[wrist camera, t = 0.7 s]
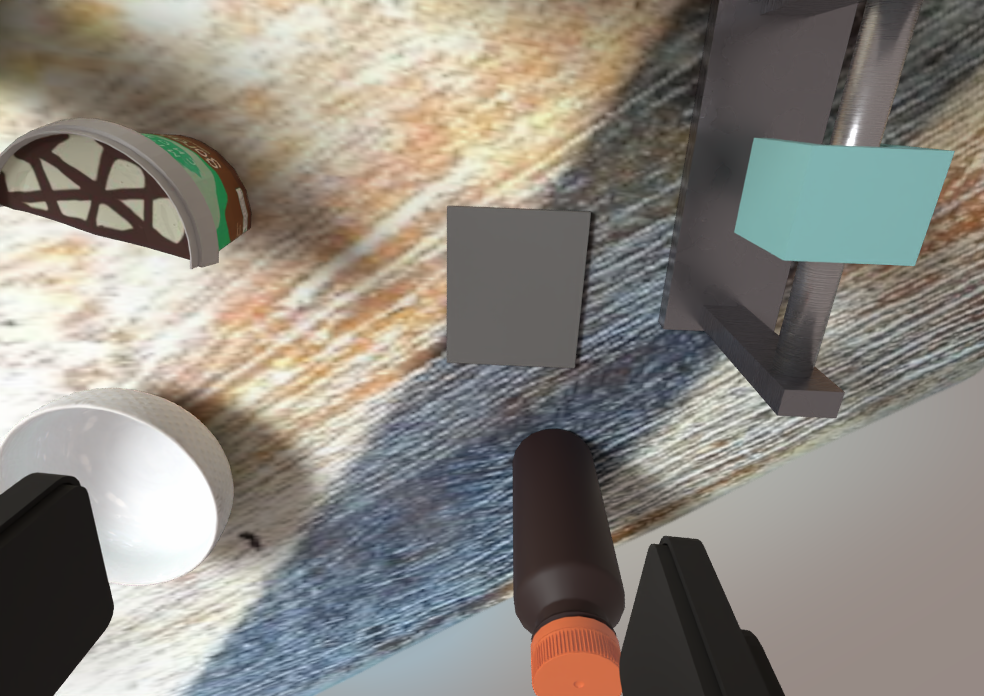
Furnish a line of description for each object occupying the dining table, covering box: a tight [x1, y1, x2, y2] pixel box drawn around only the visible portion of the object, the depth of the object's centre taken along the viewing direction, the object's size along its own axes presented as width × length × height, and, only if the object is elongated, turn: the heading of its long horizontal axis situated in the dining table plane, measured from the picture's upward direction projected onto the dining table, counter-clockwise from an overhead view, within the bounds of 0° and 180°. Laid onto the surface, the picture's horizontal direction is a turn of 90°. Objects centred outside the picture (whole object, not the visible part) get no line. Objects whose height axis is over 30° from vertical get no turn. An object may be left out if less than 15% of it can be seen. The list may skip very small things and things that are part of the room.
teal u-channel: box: [734, 138, 955, 266], centre depth 27 cm, size 5×6×6 cm
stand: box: [658, 0, 923, 418], centre depth 31 cm, size 22×8×14 cm, turn 178°
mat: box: [447, 206, 591, 368], centre depth 41 cm, size 12×10×1 cm
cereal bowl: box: [0, 388, 234, 586], centre depth 45 cm, size 17×17×7 cm
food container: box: [0, 118, 251, 269], centre depth 34 cm, size 12×6×10 cm, turn 73°
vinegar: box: [513, 429, 625, 696], centre depth 38 cm, size 7×7×20 cm
